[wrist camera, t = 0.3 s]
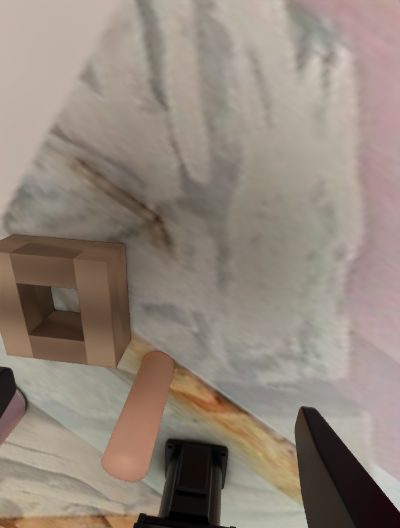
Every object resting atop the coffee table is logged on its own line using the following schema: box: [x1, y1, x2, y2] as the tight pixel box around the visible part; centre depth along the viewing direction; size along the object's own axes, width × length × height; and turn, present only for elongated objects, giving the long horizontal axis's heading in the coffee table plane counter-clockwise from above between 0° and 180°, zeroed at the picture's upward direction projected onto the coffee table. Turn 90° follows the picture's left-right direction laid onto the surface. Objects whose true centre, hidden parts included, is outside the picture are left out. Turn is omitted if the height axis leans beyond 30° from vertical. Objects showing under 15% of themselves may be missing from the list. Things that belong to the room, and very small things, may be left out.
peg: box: [101, 351, 175, 482], centre depth 22 cm, size 3×3×9 cm
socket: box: [0, 235, 131, 368], centre depth 23 cm, size 9×9×4 cm
